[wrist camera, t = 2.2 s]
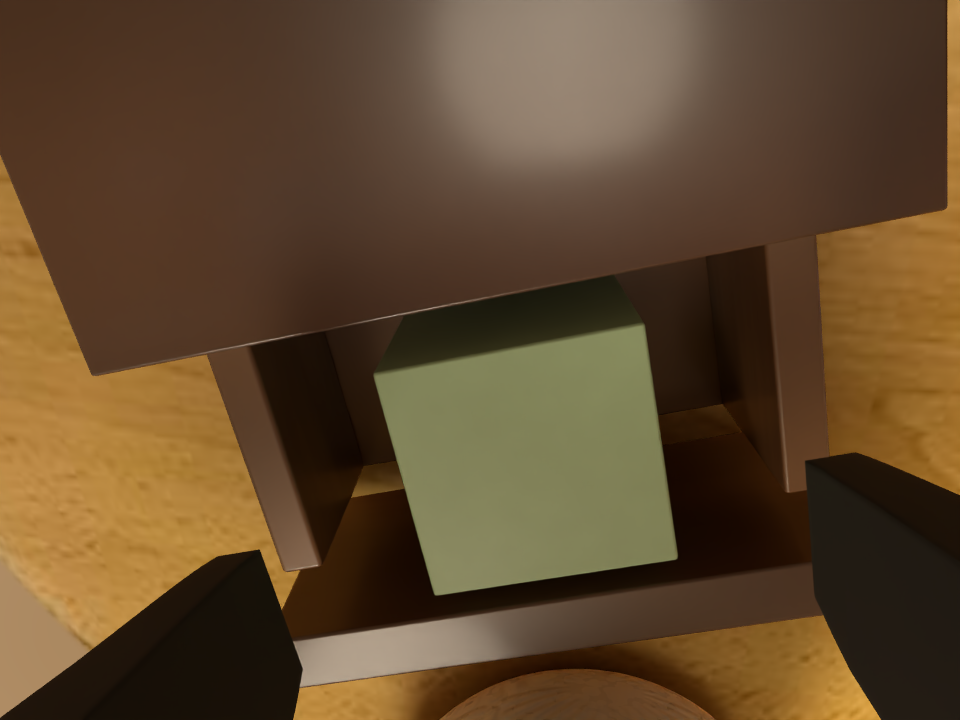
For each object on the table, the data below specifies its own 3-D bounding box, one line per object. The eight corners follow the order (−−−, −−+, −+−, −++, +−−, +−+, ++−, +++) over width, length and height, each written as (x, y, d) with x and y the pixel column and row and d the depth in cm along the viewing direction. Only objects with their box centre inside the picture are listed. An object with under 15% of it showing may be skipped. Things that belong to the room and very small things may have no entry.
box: (637, 447, 17) (678, 560, 12) (453, 478, 17) (434, 597, 13) (609, 264, 15) (645, 322, 11) (408, 303, 16) (372, 374, 12)
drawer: (784, 509, 18) (887, 661, 13) (355, 576, 19) (300, 737, 14) (750, 115, 15) (868, 119, 10) (244, 225, 16) (125, 276, 11)
